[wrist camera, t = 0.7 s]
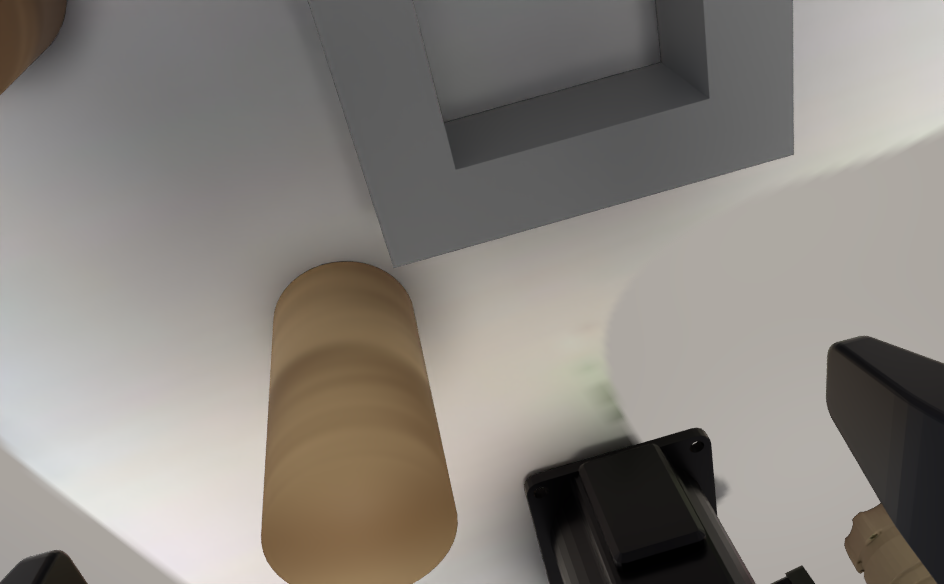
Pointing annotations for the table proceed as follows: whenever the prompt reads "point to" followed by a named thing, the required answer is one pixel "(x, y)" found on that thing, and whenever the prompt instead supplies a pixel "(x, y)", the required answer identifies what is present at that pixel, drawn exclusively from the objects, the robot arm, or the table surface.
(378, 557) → the long peg
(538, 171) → the block
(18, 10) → the short peg
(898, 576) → the handle
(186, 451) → the table surface
